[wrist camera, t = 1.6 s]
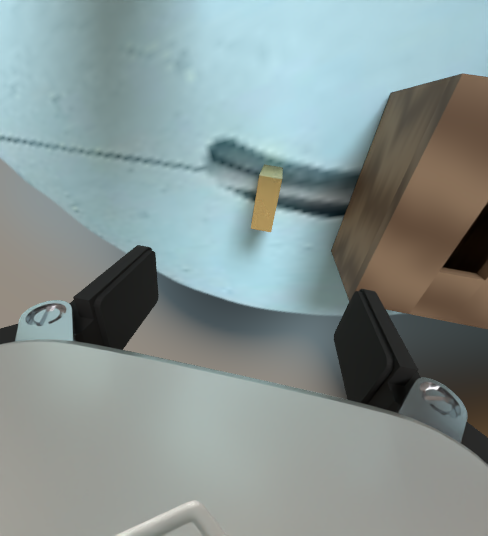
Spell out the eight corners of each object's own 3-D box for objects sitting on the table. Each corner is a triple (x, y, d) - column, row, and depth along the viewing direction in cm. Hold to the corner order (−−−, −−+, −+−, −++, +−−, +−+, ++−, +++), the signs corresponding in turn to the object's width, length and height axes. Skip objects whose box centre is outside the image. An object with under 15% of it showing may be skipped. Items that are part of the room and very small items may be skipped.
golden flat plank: (264, 164, 25) (259, 175, 20) (282, 167, 25) (282, 179, 20) (256, 209, 28) (250, 228, 23) (273, 212, 28) (270, 232, 23)
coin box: (390, 92, 21) (462, 73, 12) (557, 117, 20) (751, 115, 12) (331, 250, 30) (349, 302, 21) (445, 271, 29) (512, 334, 20)
